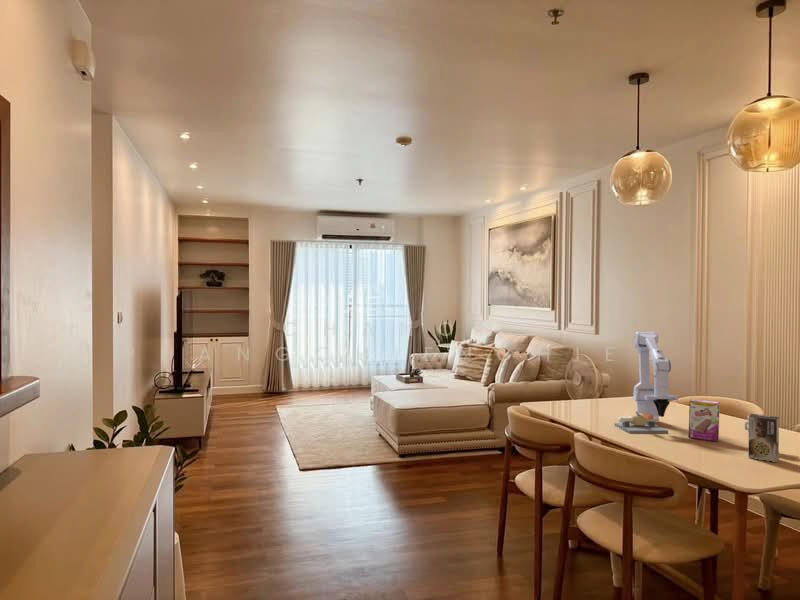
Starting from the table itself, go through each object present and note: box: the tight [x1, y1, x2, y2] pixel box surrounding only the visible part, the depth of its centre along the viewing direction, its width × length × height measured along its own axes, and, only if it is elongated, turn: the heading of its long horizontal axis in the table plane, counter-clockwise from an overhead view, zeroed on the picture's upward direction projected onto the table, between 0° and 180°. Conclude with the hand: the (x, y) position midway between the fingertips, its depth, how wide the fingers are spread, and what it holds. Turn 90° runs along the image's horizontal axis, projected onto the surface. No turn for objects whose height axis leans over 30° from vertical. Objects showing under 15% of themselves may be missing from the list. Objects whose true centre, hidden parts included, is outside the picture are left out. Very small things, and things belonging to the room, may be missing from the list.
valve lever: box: [635, 410, 653, 420], centre depth 240 cm, size 12×2×2 cm, turn 3°
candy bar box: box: [688, 398, 721, 443], centre depth 226 cm, size 11×5×16 cm, turn 56°
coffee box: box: [747, 413, 780, 463], centre depth 199 cm, size 9×6×16 cm
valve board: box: [614, 413, 669, 434], centre depth 242 cm, size 18×14×6 cm
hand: (661, 416), depth 237 cm, fingers closed
